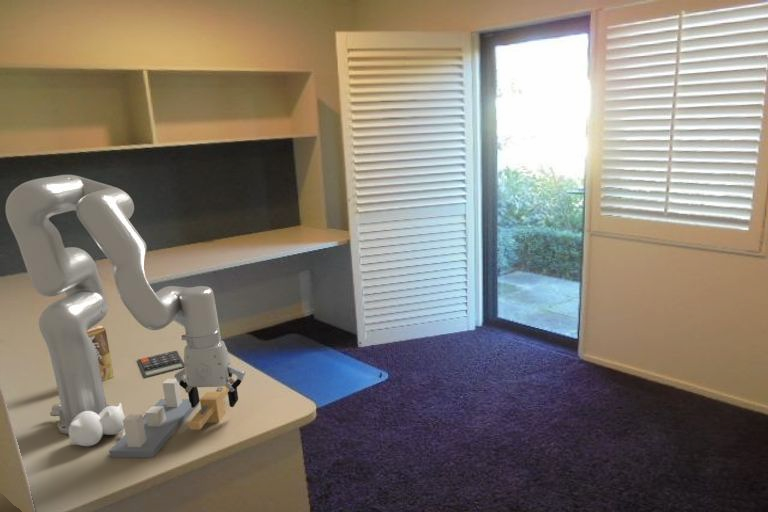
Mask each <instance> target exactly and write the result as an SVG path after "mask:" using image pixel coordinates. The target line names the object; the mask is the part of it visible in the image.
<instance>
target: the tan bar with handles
mask: <svg viewBox="0 0 768 512" xmlns="http://www.w3.org/2000/svg"><path fill="white" fill-rule="evenodd" d="M228 392H229V390H228V389H227V388H226V387H225V386H222V387H217V389H216V390H215V391H206V392H205V394H203V396H202V397H201V398H199V400H200V402H199V404H200V409H198V412H197V413H195V415H194V416H193V418H192V419H191V420H190V421H189V422H188V425H189V429H190V430H201V429H202V428H203V426H204V425H205V424H206V423H220V422H221V421H222V420H223V418H224V416H225V415H226V413H227V412H226V409H225V407H226V406H225V401H224V400H225V398H226V397H228Z"/></svg>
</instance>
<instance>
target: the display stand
mask: <svg viewBox="0 0 768 512" xmlns="http://www.w3.org/2000/svg"><path fill="white" fill-rule="evenodd" d="M162 389H163V395H164V398H161V399H160V400H159V401H158V402H156V403H155V404H154V406H153V405H151V407H150V408H149V409H148V410H146V412H145V414H144V416H143V414H128V415H127V416H126V417H125V419H124V420H123V424H124V426H123V427H124V429H125V435H124V436H123V437H122V438H121V437H120V439H119V440H118V441H117V442H116V443H115V445H113V446H112V447H111V448H110V449H109V450H108V452H109V457H111V458H154V457H155V456H156V455H157V454H158V453H159V452H160V451H161V449H163V447H164V446H165V445H166V443H167V442H168V441H169V440H170V439H171V437H172V436H173V435H174V434H175V433H176V431H177V430H178V429H180V427H181V426H182V425H183V423H184V422H185V421H186V420H187V419H188V417H190V416H191V414H192V413H193V411H195V410H196V408H197V407H198V406H199V404H200V402H199V403H198V404H197V405H196V406H195V407H194V408H192V407H191V403H190V402H189V398H182V397H183V396H182V392H181V386H180V384H179V382H178V381H177V379H176V378H166V379H165V380H164V381H163V382H162Z"/></svg>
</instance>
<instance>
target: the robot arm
mask: <svg viewBox="0 0 768 512" xmlns="http://www.w3.org/2000/svg"><path fill="white" fill-rule="evenodd" d="M5 202H6V203H5V207H4V208H5V209H4V210H5V216H6V220H7V222H8V224H9V227H10V229H11V231H12V233H13V236H14V238H15V240H16V242H17V245H18V247H19V251H20V255H21V256H22V260H23V262H24V265H25V268H26V271H27V274H28V277H29V279H30V282H31V284H32V286H33V289H34V291H36V293H38V294H39V295H41V296H43V297H56V296H59V295H62V294H63V293H65V295H66V296H64V297H62V298H60V299H58V300H56V301H53V302H52V303H51V304H49V305H47V307H45V308H44V310H43V311H42V312H41V314H40V316H39V319H38V327H39V331H40V333H41V336H42V338H43V340H44V342H45V345H46V346H47V349H48V353H49V356H50V360H51V364H52V370H53V373H54V378H55V382H56V387H57V394H58V396H59V401H60V403H54V404H53V405H52V407H51V411H50V413H49V415H50V417H59V421H58V423H57V429H58V431H59V432H60V433H61V434H64V435H69V426H70V424H71V422H72V420H73V419H74V418H75V417H76V416H77V415H78V414H80V413H81V412H84V411H93V412H95V413H96V414H98V415H99V413H100V412H101V411H102V410H103V409H104V408H106V407H108V406H110V405H109V404H107V399H106V395H105V393H106V392H105V389H104V383H103V381H102V378H101V373H100V367H99V362H98V357H97V353H96V349H95V346H94V344H93V342H92V341H91V340H90V338H89V337H88V335H87V330H89V329H90V328H93V327H95V326H96V325H97V324H99V323H100V322H101V321H102V320H103V319H104V318H105V317H106V316H107V313H108V310H109V309H108V304H109V303H108V298H107V296H106V292H105V290H104V286H103V283H102V279H101V277H100V274H99V270H98V267H97V265H96V263H95V261H94V259H93V258H92V256H91V255H90V254H89V253H88V252H87V251H85V250H84V249H82V248H79V247H75V246H71V247H65V244H64V243H63V239H62V235H61V234H60V231H59V230H58V228H57V227H56V226H55V224H53V223H52V222H51V220H50V218H51V217H52V216H55V215H59V214H63V213H67V212H71V211H74V212H75V213H76V216H77V218H78V220H79V221H80V223H81V224H82V226H83V227H84V228H85V229H86V231H87V232H88V233H89V235H90V236H91V238H92V239H93V240H94V242H95V243H96V245H97V246H98V247H99V249H100V250H101V251H102V252H103V254H104V255H105V256H106V258H107V260H108V261H109V262H110V264H111V266H112V270H113V271H112V272H113V280H114V283H115V285H116V290H117V293H118V295H119V298H120V300H121V302H122V303H123V305H124V307H126V310H128V312H129V314H131V316H132V317H133V318H134V319H135V320H136V321H137V322H138V323H139V324H140V325H141V327H144V328H145V329H146V330H147V329H148V330H150V331H160V330H162V329H165V328H166V327H167V326H169V325H170V324H171V323H172V322H174V321H175V320H176V319H178V318H180V317H181V316H182V319H183V325H184V331H185V332H184V333H185V334H182V335H181V341H186V345H185V346H184V352H183V362H184V368H183V369H180V370H178V372H176V373H175V374H174V379H177V381H178V382H179V384H180V387H181V388H183V389H184V391H185V393H187V394H188V395H187V396H188V399H189V402H190V403H191V407H192V408H194V407H195V406H196V405H197V404H198V403H199V404H200V395H199V390H198V388H219V387H222V386H225V387H226V388H227V389H228V390H229V392H228V394H227V397H228V403H229V404H228V405H229V407H230V408H234V407H235V405H236V404H237V402H238V401H239V395H238V394H239V393H238V387H239V386H240V385H241V383H243V379H244V377H245V375H246V371H245V370H243V369H241V368H239V367H237V366H234V365H232V363H231V359H230V356H229V352H228V351H229V350H228V348H227V345H226V343H225V341H224V340H222V337H221V332H220V325H219V319H218V312H217V306H216V299H215V294H214V290H213V289H212V288H211V287H209V286H205V285H197V286H192V287H186V286H185V287H184V286H175V285H169V286H165V287H162V288H160V289H159V290H157V291H156V292H155V291H154V289H153V288H152V286H151V285H150V283H149V282H148V279H147V276H146V273H145V268H144V267H145V266H144V265H145V258H146V255H147V254H146V253H147V243H146V242H145V240H144V239H143V237H142V236H141V235H140V234H139V232H138V231H137V229H136V228H135V227H134V225H133V224H132V223H131V221H130V220H129V219H130V218H131V217H132V216H133V214H134V212H135V205H134V201H133V199H132V197H130V195H129V194H128V193H127V192H125V191H124V190H123V189H121V188H118V187H115V186H113V185H109V184H106V183H102V182H99V181H96V180H93V179H89V178H86V177H83V176H79V175H75V174H61V175H55V176H53V175H52V176H48V177H41V178H40V177H39V178H35V179H32V180H28V181H25V182H23V183H21V184H20V185H18V186H17V187H15V188H14V189H13V190H12V191H11V192H10V194H9V195H8V197H7V199H6V201H5ZM233 375H234V376H236V380H235V379H234V378H233Z"/></svg>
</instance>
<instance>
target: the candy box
mask: <svg viewBox="0 0 768 512" xmlns="http://www.w3.org/2000/svg"><path fill="white" fill-rule="evenodd" d="M87 335H88V337H89V338H90V340H91V341H92V342H93V344H94V346H95V349H96V353H97V357H98V362H99V367H100V373H101V378H102V382H103V381H106V380H109V379H112V378H115V373H114V368H113V362H112V358H111V350H110V346H109V340H108V336H107V335H108V334H107V329H106V328H105V326H102V325H98V326H93V327H91V328H90V329H89V330H87Z"/></svg>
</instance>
